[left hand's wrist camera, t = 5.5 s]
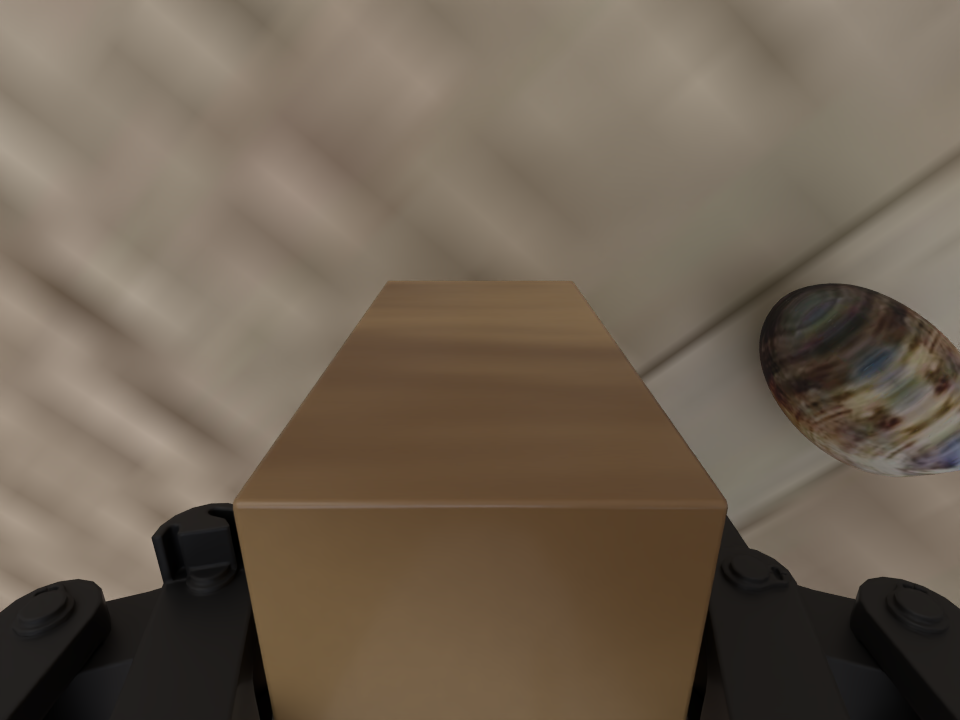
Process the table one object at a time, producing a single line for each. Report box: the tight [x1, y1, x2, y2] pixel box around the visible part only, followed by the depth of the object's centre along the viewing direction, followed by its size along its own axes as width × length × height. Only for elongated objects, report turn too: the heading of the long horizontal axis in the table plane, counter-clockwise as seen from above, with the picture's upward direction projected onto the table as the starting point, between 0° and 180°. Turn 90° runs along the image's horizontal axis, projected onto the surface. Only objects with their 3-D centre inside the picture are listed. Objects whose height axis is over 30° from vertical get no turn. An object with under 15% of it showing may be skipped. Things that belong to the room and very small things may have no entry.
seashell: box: [759, 284, 960, 477], centre depth 21 cm, size 10×6×8 cm, turn 45°
